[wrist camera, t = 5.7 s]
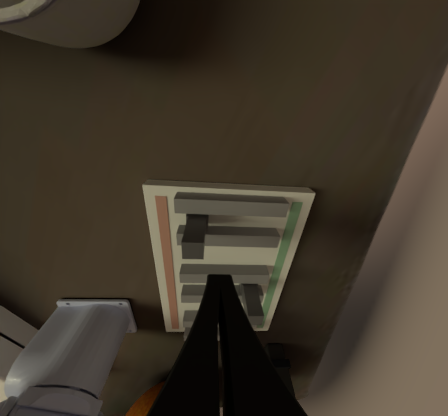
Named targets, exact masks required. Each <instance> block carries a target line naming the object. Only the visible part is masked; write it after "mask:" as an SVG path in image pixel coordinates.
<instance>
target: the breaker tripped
mask: <svg viewBox="0 0 448 416" xmlns="http://www.w3.org/2000/svg"><path fill="white" fill-rule="evenodd" d="M208 221H209V215H207V214H186V226H185V230H184V234H183V237H182V241H181V248H182V259H203V260H204V248H205V235H206V231H208Z"/></svg>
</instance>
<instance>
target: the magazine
mask: <svg viewBox="0 0 448 416" xmlns="http://www.w3.org/2000/svg"><path fill="white" fill-rule="evenodd" d="M265 351H266V353H267V355H268V357H269V358H270V360H271V361H272V363H273V365H274V366H275V368H276V370H277V371H278V373H279V374H280V376H281V377H282V379H283V380H284V382H285V383H286V385H287V386H288V388H289V389H290V391H291V393H292V394H293V396H294V397H295V394H294V389H293V385H292V381H291V378H290V374H289V370H288V369H290V368H291V365H290V362H289V359H285V355H284V352H283V348H282V345H281V344H267V345H266V347H265Z"/></svg>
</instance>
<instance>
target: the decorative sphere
mask: <svg viewBox="0 0 448 416" xmlns="http://www.w3.org/2000/svg"><path fill="white" fill-rule="evenodd" d="M164 383H165V381H163V382H161V383H159V384H157V385H155V386H153V387H152V388H150V389H149V390H148V391H146V392H145V393H144V394H143V395H142V396H141V397H140V398H139V399H138V400H137V401H136V402H135V403H134V405H133V406H132V407H131V408H130V410H129V411H128V412H127V414H126V415H125V416H146V415H147V413H148V411H149V410H150V408H151V406H152V404H153V402H154V401H155V399H156V397H157V395H158V393H159V392H160V390H161V388H162V386H163V385H164Z"/></svg>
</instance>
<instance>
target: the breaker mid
mask: <svg viewBox="0 0 448 416" xmlns="http://www.w3.org/2000/svg"><path fill="white" fill-rule="evenodd" d="M239 291H240V293H241V294H242V301H243V307H244V311H245V313H246V315H247V317H248V319H249V322H250V324H251V325H262V322H263V319H264V313H263V309H262V305H261V301H260V296H259V292H258V284H246V283H239Z"/></svg>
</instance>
